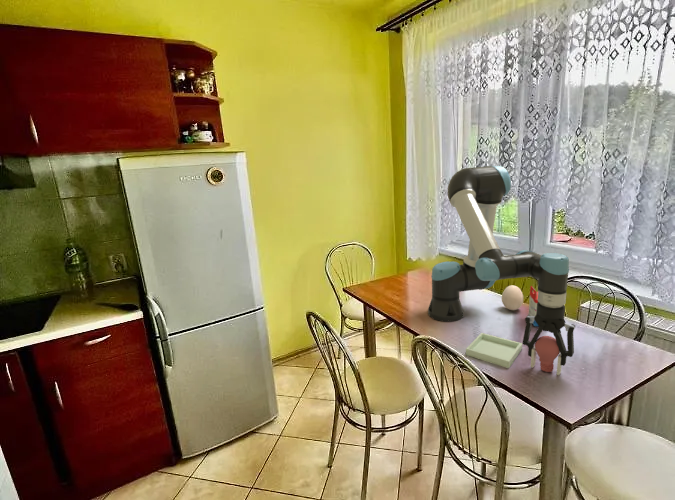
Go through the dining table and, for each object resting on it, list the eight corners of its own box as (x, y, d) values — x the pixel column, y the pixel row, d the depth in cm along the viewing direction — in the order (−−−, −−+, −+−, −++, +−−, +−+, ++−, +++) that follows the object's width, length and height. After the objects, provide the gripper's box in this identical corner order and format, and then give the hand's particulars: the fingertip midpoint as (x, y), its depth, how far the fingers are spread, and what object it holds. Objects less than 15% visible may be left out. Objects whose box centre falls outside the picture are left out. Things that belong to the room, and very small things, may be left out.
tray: (465, 355, 132) (465, 348, 131) (481, 338, 142) (481, 332, 142) (508, 368, 122) (509, 361, 122) (521, 349, 133) (522, 343, 132)
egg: (505, 304, 171) (506, 280, 168) (525, 308, 165) (527, 284, 162) (497, 310, 165) (498, 286, 162) (518, 315, 159) (519, 290, 156)
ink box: (547, 327, 148) (549, 292, 144) (533, 326, 149) (536, 292, 145) (540, 317, 156) (542, 285, 152) (527, 317, 157) (529, 284, 153)
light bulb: (528, 365, 123) (531, 332, 120) (549, 363, 123) (551, 330, 120) (541, 378, 116) (544, 343, 113) (563, 375, 117) (566, 341, 114)
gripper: (513, 300, 118) (509, 364, 123) (586, 315, 105) (579, 385, 111) (520, 293, 123) (516, 354, 129) (591, 306, 110) (583, 373, 116)
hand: (545, 369), depth 120 cm, fingers closed on light bulb, 7 cm apart
